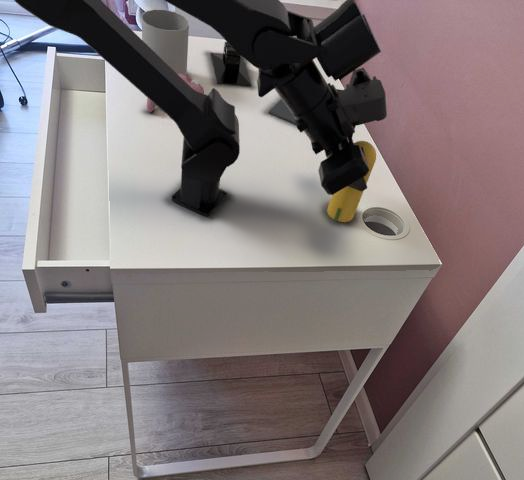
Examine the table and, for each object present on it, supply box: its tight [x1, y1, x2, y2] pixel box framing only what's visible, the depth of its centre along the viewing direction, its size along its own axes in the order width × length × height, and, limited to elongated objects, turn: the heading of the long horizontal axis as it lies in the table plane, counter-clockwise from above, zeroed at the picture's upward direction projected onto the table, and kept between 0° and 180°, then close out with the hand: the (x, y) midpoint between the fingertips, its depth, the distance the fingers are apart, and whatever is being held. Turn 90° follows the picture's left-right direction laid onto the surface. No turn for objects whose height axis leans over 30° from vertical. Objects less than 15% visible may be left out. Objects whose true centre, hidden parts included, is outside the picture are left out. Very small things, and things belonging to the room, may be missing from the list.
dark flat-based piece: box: [209, 41, 252, 88], centre depth 101 cm, size 12×7×5 cm, turn 10°
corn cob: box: [326, 140, 377, 223], centre depth 76 cm, size 5×4×12 cm
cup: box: [141, 9, 190, 76], centre depth 93 cm, size 8×8×10 cm
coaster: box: [268, 98, 296, 125], centre depth 97 cm, size 9×9×1 cm
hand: (361, 179), depth 76 cm, fingers closed on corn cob, 4 cm apart
